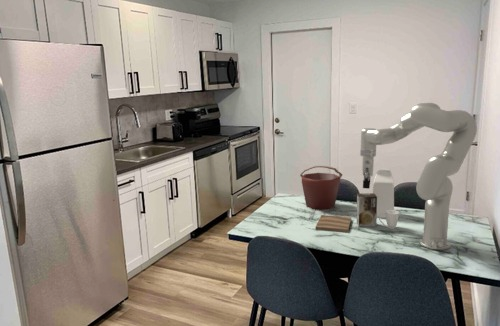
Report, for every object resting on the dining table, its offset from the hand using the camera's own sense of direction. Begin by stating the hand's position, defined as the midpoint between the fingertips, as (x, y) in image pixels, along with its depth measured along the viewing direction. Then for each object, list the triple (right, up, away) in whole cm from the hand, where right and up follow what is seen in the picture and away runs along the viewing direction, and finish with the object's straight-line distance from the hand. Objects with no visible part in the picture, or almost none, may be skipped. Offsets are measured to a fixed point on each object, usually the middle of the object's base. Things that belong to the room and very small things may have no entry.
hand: (366, 185), depth 196 cm
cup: (+11, -21, 0) cm, 24 cm away
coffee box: (+1, -21, +3) cm, 21 cm away
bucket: (-17, -15, +38) cm, 44 cm away
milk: (+15, -18, +19) cm, 30 cm away
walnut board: (-16, -20, +4) cm, 26 cm away
